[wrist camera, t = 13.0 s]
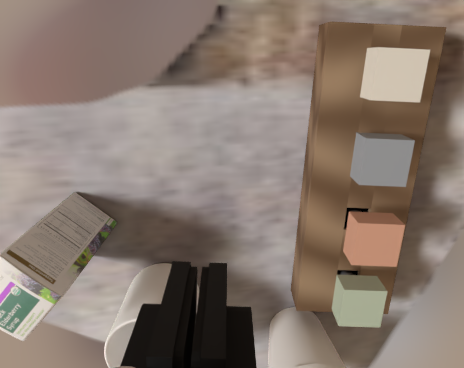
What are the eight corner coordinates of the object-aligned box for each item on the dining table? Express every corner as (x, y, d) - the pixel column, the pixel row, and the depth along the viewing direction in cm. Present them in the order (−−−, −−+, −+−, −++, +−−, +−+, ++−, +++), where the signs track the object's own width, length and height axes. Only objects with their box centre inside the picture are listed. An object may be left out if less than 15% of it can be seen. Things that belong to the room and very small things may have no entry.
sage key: (326, 254, 41) (344, 289, 35) (363, 255, 42) (387, 291, 35) (322, 286, 43) (338, 326, 36) (358, 287, 43) (380, 327, 37)
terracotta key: (337, 196, 39) (358, 223, 32) (376, 197, 39) (405, 225, 32) (332, 232, 40) (351, 265, 34) (370, 233, 40) (396, 266, 34)
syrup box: (89, 256, 44) (25, 347, 30) (45, 225, 43) (-43, 306, 29) (118, 221, 43) (65, 299, 29) (73, 188, 41) (-5, 254, 28)
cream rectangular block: (352, 48, 36) (378, 47, 29) (395, 50, 36) (430, 49, 29) (346, 93, 37) (370, 100, 31) (387, 94, 37) (419, 102, 31)
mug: (240, 285, 45) (244, 348, 35) (214, 338, 48) (211, 411, 38) (143, 250, 44) (119, 306, 34) (121, 307, 46) (93, 375, 36)
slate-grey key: (343, 124, 37) (366, 138, 31) (384, 126, 38) (414, 140, 31) (337, 164, 39) (359, 184, 32) (377, 165, 39) (405, 186, 33)
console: (319, 25, 36) (329, 21, 33) (423, 30, 37) (446, 27, 33) (290, 289, 45) (296, 310, 42) (374, 292, 46) (387, 313, 42)
